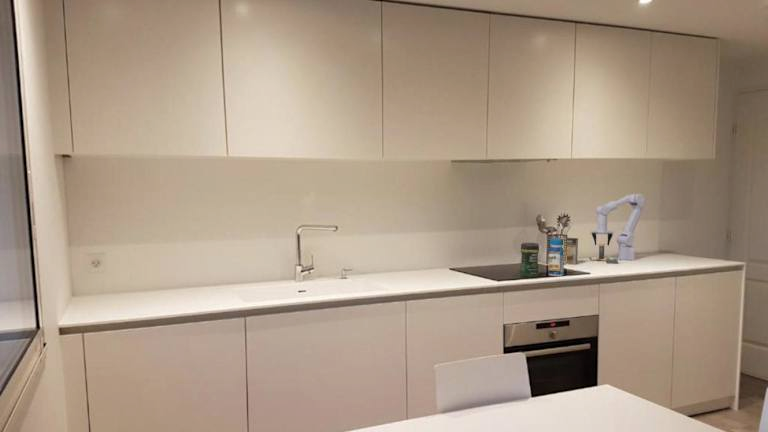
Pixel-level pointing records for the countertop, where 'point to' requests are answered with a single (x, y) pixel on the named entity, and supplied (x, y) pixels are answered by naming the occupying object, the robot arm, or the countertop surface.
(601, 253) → the marker
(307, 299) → the countertop surface
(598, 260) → the board
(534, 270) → the coffee jar
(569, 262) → the coffee box
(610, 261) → the button housing
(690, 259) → the countertop surface
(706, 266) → the countertop surface
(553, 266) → the blue labeled canister
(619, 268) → the countertop surface
